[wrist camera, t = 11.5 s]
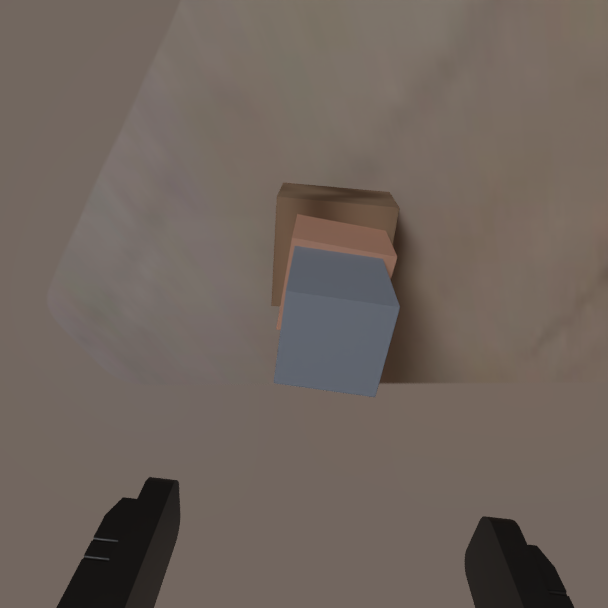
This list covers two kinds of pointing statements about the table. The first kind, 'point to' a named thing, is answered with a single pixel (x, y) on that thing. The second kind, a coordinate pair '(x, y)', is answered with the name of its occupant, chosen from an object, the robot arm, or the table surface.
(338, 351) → the slate block
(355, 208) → the base block
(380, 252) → the top block
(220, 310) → the table surface
